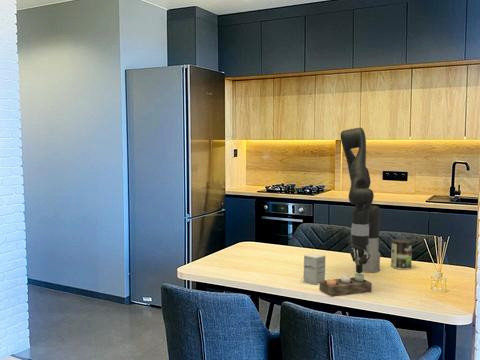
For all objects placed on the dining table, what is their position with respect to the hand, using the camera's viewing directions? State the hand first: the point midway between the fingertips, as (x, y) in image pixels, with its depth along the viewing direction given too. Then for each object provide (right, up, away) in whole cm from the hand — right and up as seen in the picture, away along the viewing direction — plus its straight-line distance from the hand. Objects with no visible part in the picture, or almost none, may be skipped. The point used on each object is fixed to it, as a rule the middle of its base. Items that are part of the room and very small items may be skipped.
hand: (359, 272), depth 210 cm
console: (-6, -8, -2) cm, 10 cm away
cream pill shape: (-6, -4, -2) cm, 8 cm away
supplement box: (-18, -7, +12) cm, 23 cm away
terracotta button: (-13, -6, -4) cm, 15 cm away
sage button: (0, -4, 0) cm, 4 cm away
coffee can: (+32, -5, +39) cm, 51 cm away
